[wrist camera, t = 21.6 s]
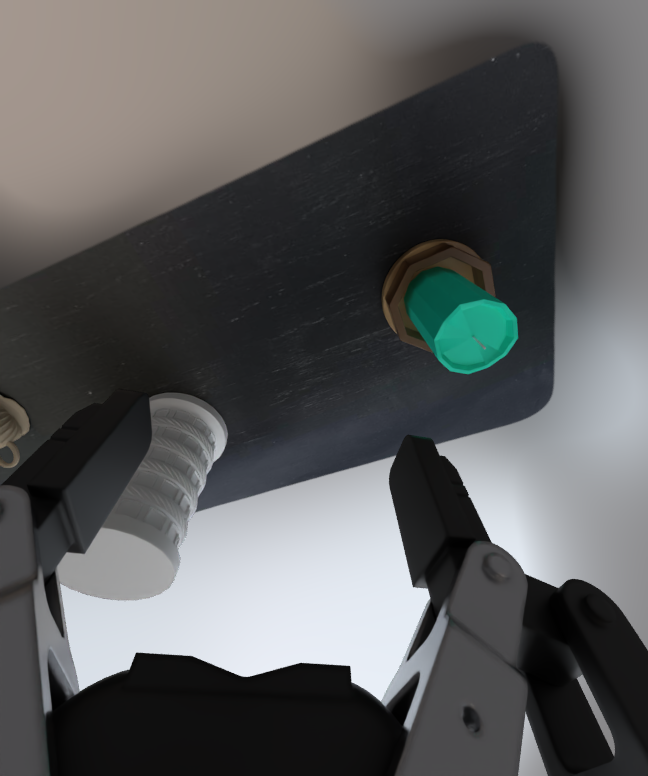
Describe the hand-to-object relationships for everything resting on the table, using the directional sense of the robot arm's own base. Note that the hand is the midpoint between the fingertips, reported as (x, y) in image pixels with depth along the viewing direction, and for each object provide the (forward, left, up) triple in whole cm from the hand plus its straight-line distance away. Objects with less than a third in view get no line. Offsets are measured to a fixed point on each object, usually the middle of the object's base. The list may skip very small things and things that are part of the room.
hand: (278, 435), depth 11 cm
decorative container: (+25, -8, -26) cm, 37 cm away
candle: (-2, +13, -25) cm, 28 cm away
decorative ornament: (+30, -28, -26) cm, 48 cm away
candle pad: (-2, +13, -26) cm, 29 cm away
